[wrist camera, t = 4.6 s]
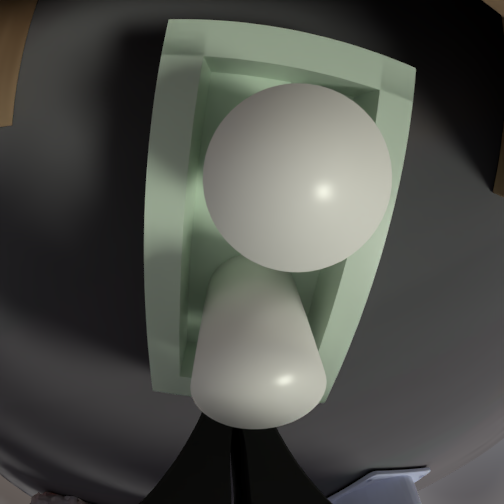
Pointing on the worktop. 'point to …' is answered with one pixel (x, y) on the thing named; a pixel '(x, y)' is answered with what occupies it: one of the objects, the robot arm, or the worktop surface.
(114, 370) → the worktop surface
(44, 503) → the food item
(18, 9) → the wooden arch bridge
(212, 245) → the tray
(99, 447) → the worktop surface
